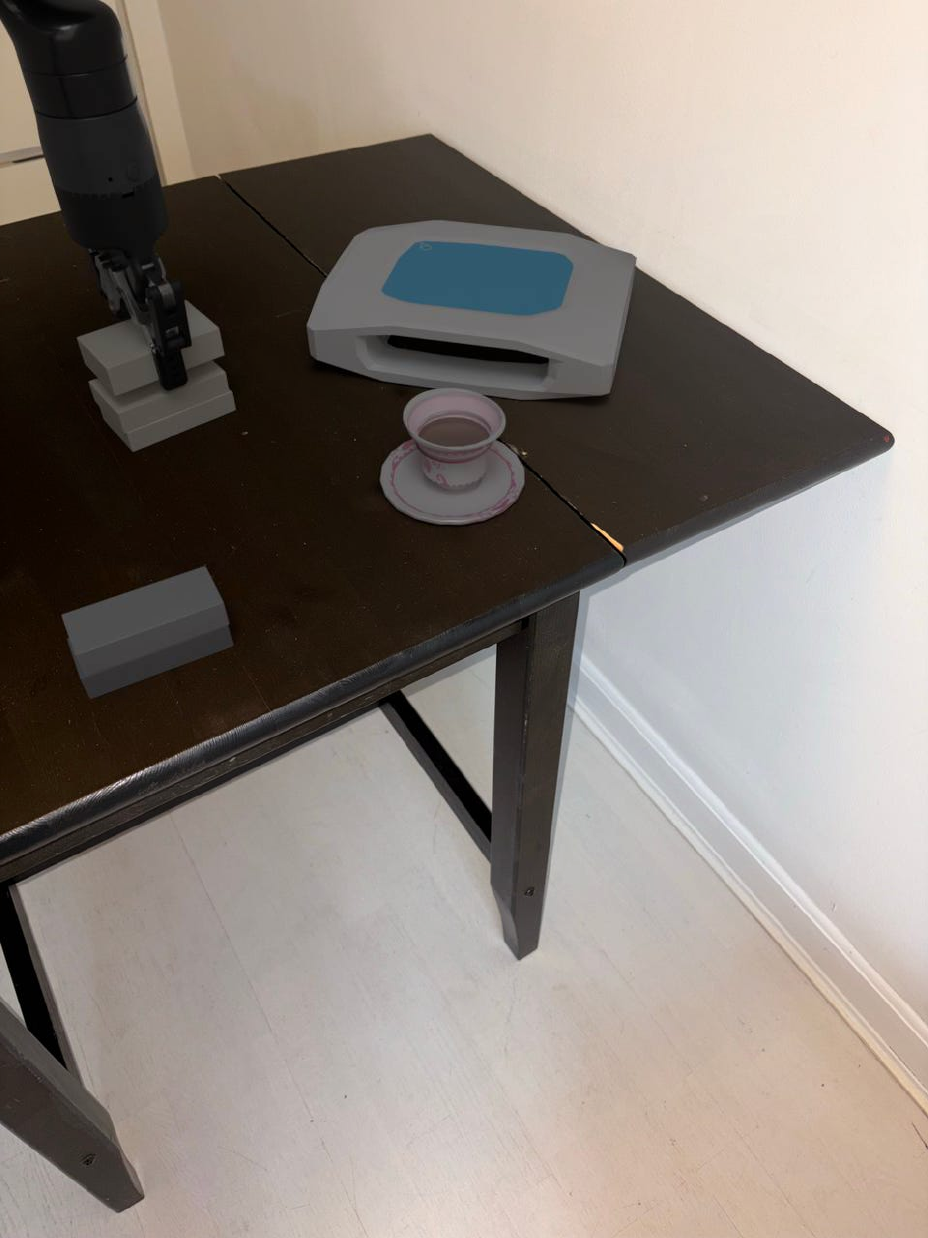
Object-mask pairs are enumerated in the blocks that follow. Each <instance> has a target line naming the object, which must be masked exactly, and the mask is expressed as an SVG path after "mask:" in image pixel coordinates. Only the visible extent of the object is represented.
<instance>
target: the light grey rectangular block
mask: <svg viewBox="0 0 928 1238" xmlns="http://www.w3.org/2000/svg"><path fill="white" fill-rule="evenodd" d="M184 301H185V307H186V312H187V318H188V324H189V330H190V335H191V341H192V346H191V347H188V348H184V349H181V352H182V357H183V361H184V365H185V369H186V370H187V369H189V368H192V367H195V366H197V365H200V364H203V363H205V362H208V361H211V360H213V361H214V360H215V359H219V358H221V357H224V356H225V355H226V354H225V351H224V345H223V339H222V335H221V331H220V327H219V326H218V325H216V324H215V323H214V322H213V321H212V320H210V319H209V317H207V316H206V315H205V314H203V313H202V312H201V311H200V310H198V309H197V307H195V306H194V305H193V304H192V303H190V301H188V300H187V299H184ZM152 327H153V325H152ZM167 332H169V330H167V331H166V333H167ZM76 340H77V344H78V346H79V349H80V353H81V356H82V358H83V361H84V364H85V365H86V367H87V368H88V369H89V370H90V371H91V372H92V373H93V374H94V376H95V377H96V378H99V379H100V380H101V381H102V383H103V384H104V385H105V386H106V387H107V388H108V389H109V390H110V391H111V392H112V393H113V394H114V395H115V396H118V395H120V394H123V393H126V392H128V391H131V390H134V389H136V388H139V387H142V386H144V385H147V384H150V383H152V382H155V381H158V380H159V378H158V374H157V370H156V367H155V363H154V359H153V356H152V352H151V349H150V347H149V343H148V341H147V338H146V336H145V334H144V331H143V329H142V327H141V326H140V325H136V324H134V323H133V321H132V319H129V320H126V321H123V322H120V323H118V322H117V323H115V324H112V325H108V326H106V327H103V328H100V329H97V330H94V331H92V332H89V333H86V334H82V335H80V336H77V337H76Z"/></svg>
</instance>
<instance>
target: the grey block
mask: <svg viewBox="0 0 928 1238" xmlns="http://www.w3.org/2000/svg"><path fill="white" fill-rule="evenodd" d="M186 373H187V377H188V381H187V383H186V384H185V385H183V386H181V387H178V388H175V389H173V390H170V391H167V390H165V389H164V388H163V387H162V386H161V385H160V382H159V380H158V381H155V382H152V383H150V384H147V385H144V386H142V387H139V388H136V389H134V390H131V391H128V392H126V393H123V394H120V395H118V396H115V395H114V394H113V393H112V392H111V391H110V390H109V389H108V388H107V387H106V386H105V385H104V384H103V383H102V381H101V380H100V379H99V378H98V377H96V378H95V379H92V380H89V381H88V386H89V388H90V391H91V394H92V397H93V400H94V403H96V404H97V405H98V407H99V409H100V412H101V416H102V419H103V421H104V422H105V423H106V424H107V425H108V426H109V428H111V429H112V431H113V432H114V433H115V434H116V435H117V437H119V439H120V440H121V441H122V442H123V443H124V444H125V445H126V447H128V449H130V451H131V452H132V453H134V452H137V451H139V450H142V449H145V448H147V447H149V446H151V445H154V444H157V443H159V442H161V441H164V440H166V439H169V438H171V437H174V436H176V435H179V434H181V433H184V432H186V431H188V430H191V429H193V428H196V427H198V426H200V425H203V424H205V423H206V424H207V423H208V422H210V421H213V420H216V419H218V418H220V417H223V416H225V415H227V414H230V413H232V412H235V411H237V409H236V403H235V397H234V394H233V391H232V390H231V389H230V387H229V382H228V378H227V373H226V371H225V370H224V369H223V368H222V367H221V366H220V365H219V364H217V363H216V362H215V361H214V359H213V360H211V361H208V362H205V363H203V364H200V365H197V366H195V367H192V368H189V369H187V370H186Z"/></svg>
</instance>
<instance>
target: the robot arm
mask: <svg viewBox="0 0 928 1238" xmlns="http://www.w3.org/2000/svg"><path fill="white" fill-rule="evenodd" d="M0 22H1V24H2V25H3V26H2V27H3V28H4V29H5V31H6V33H7V35H8V36H9V38H10V40H11V42H12V45H13V48H14V51H15V53H16V57H17V61H18V64H19V66H20V69H21V73H22V76H23V81H24V83H25V87H26V89H27V92H28V96H29V99H30V102H31V105H32V110H33V113H34V117H35V122H36V129H37V135H38V139H39V143H40V144H39V145H40V147H41V151H42V154H43V158H44V160H45V164H46V168H47V170H48V173H49V176H50V179H51V183H52V187H53V190H54V193H55V196H56V200H57V202H58V206H59V209H60V212H61V215H62V218H63V221H64V225H65V228H66V232H67V234H68V236H69V237H70V239H71V240H72V241H73V242H74V243H75V244H77V245H78V246H80V247H82V248H83V250H84V253H85V256H86V258H87V261H88V264H89V268H90V270H91V273H92V276H93V279H94V282H95V286H96V289H97V293H98V295H99V296H100V297H101V299H102V300H103V301H105V300H107V303H108V310H109V311H110V312H111V313H112V314H113V315H114V316H115V318H116V322H117V323H120V322H123V321H126V320H129V319H132V321H133V323H134V324H136V325H140V326H141V327H142V329H143V331H144V334H145V336H146V338H147V341H148V343H149V347H150V349H151V352H152V356H153V359H154V363H155V367H156V370H157V374H158V378H159V382H160V385H161V386H162V387H163V388H164V389H165V390H167V391H170V390H173V389H175V388H178V387H181V386H183V385H185V384H186V383H187V381H188V377H187V373H186V369H185V365H184V361H183V357H182V352H181V349H184V348H188V347H191V346H192V341H191V335H190V330H189V324H188V318H187V312H186V307H185V301H184V300H185V295H184V290H183V285H182V284H181V283H182V282H180V280H179V279H178V278H173V279H169V280H167V279H166V275H167V273H166V272H167V271H166V268H165V265H164V264H163V260H162V259H161V257H160V255H159V253H156V250H155V249H154V245H155V243H156V242H157V240H158V239H159V238H160V237H161V236H163V235H164V234H165V232H166V231H167V230H168V227H169V225H170V217H169V212H168V208H167V203H166V199H165V194H164V190H163V185H162V181H161V176H160V172H159V168H158V164H157V160H156V159H157V158H156V155H155V151H154V150H155V149H154V147H153V142H152V138H151V134H150V130H149V126H148V123H147V121H146V118H145V115H144V112H143V109H142V107H141V104H140V101H139V98H138V93H137V89H136V85H135V80H134V76H133V72H132V67H131V63H130V57H129V55H128V49H127V46H126V42H125V38H124V34H123V29H122V26H121V24H120V20H119V18H118V16H117V14H116V12H115V11H114V9H112V7H111V6H110V5H108V4H107V3H105V2H104V1H102V0H0ZM146 305H147V307H148V310H147V311H144V309H142V307H144V306H146ZM152 325H153V327H152ZM167 330H169V332H167V333H166V331H167Z"/></svg>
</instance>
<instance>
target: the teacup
mask: <svg viewBox="0 0 928 1238" xmlns="http://www.w3.org/2000/svg"><path fill="white" fill-rule="evenodd" d="M402 419H403V423H404V426H405V429H406V432H407V434H408V436H409V437H410V438H411V439H409V440H407V441H404V442H403V443H402V444H400V445H399V446H398V447H397V448H395V449H393V450H392V451H390V453H389V454H388V456H387V457H386V459H385V460H384V462H382V463H383V464H382V465H381V469H380V477H379V484H380V486H381V489H382V492H383V495H384V498H386V500H388V502H389V503H390V504H391V505H392V506H393V507H394V508H395V509H396V510H397V511H399V512H401V513H402V514H403V513H404V514H405V515H407V516H408V517H410V518H413V519H415V520H418V521H422V522H426V523H430V524H435V525H442V526H443V525H444V526H445V525H446V526H447V525H449V526H453V525H454V526H463V525H467V524H469V525H470V524H474V523H478V522H484V521H486V520H489V519H491V518H493V517H496V516H497V515H499V514H503V513H504V512H505V511H506V510H508V509H509V508H510V507H511V506H512V505H513V504H514V503H515V502H516V501H518V499H519V497H520V495H521V494H522V491H523V489H524V487H525V467H524V466H523V464H522V462H521V460H520V458H519V457H518V454H516V453H515V452H514V451H513V450H512V449H510V448H509V447H508V446H507V445H506V444H504V443H502V442H501V441H499V440H497V439H498V438H499V437H500V436H501V435H502V434H503V432H504V431H505V428H506V425H507V418H506V415H505V412H504V411H503V409H502V408H501V407H500V406H499V404H497V403H496V402H495V401H494V400H493V399H491V398H489V397H487V395H482V394H479V393H476V392H473V391H470V390H465V389H459V388H439V389H436V388H432V389H430V390H426V391H423V392H421V393H418V394H417V395H415V396H414V397H412V398H411V399H410V400H409V401H408V402H407V404H406V405H405V407H404V410H403V414H402Z"/></svg>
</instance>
